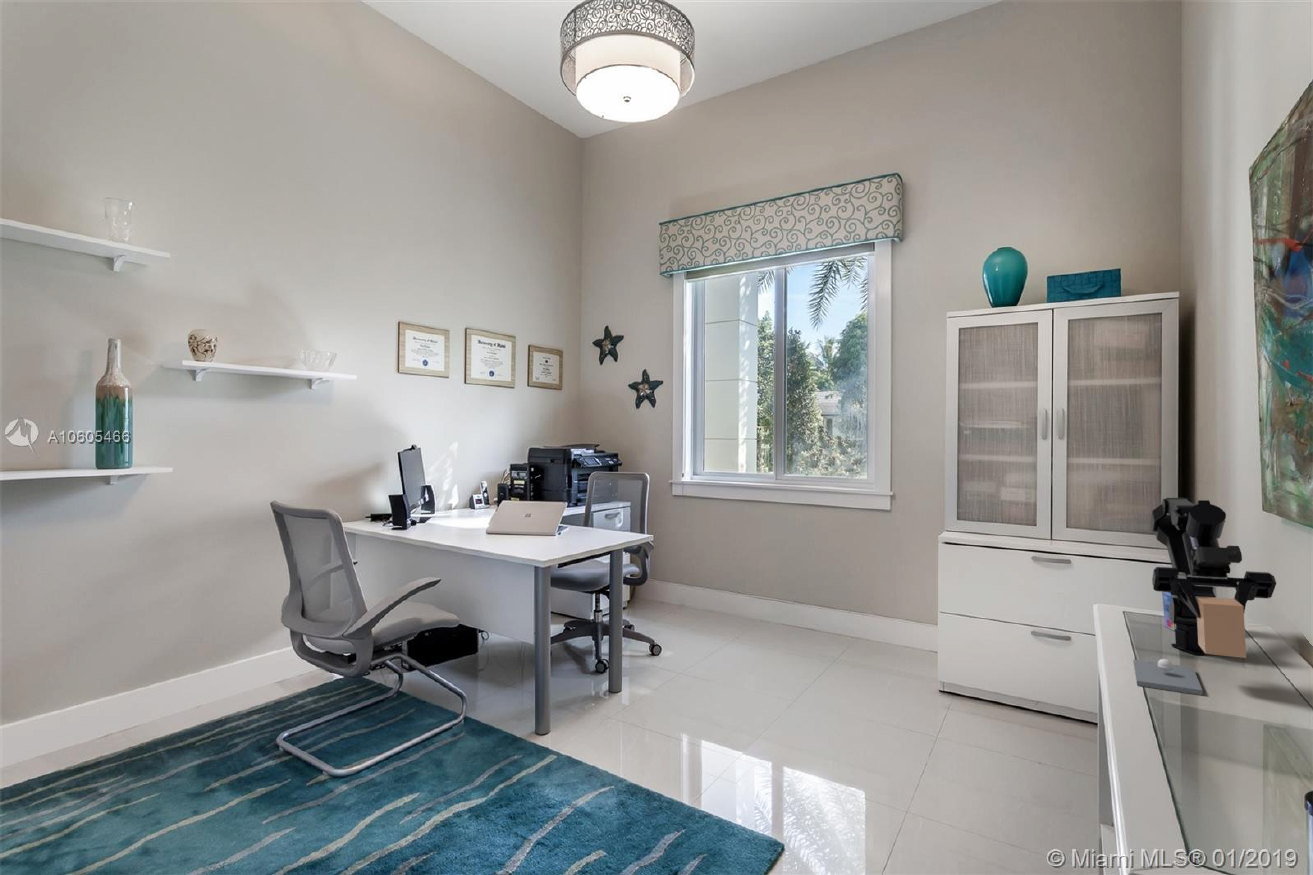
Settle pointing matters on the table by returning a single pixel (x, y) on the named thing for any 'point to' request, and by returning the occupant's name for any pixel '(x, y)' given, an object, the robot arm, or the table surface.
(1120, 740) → the table surface
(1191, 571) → the robot arm
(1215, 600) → the cover box
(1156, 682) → the post board
